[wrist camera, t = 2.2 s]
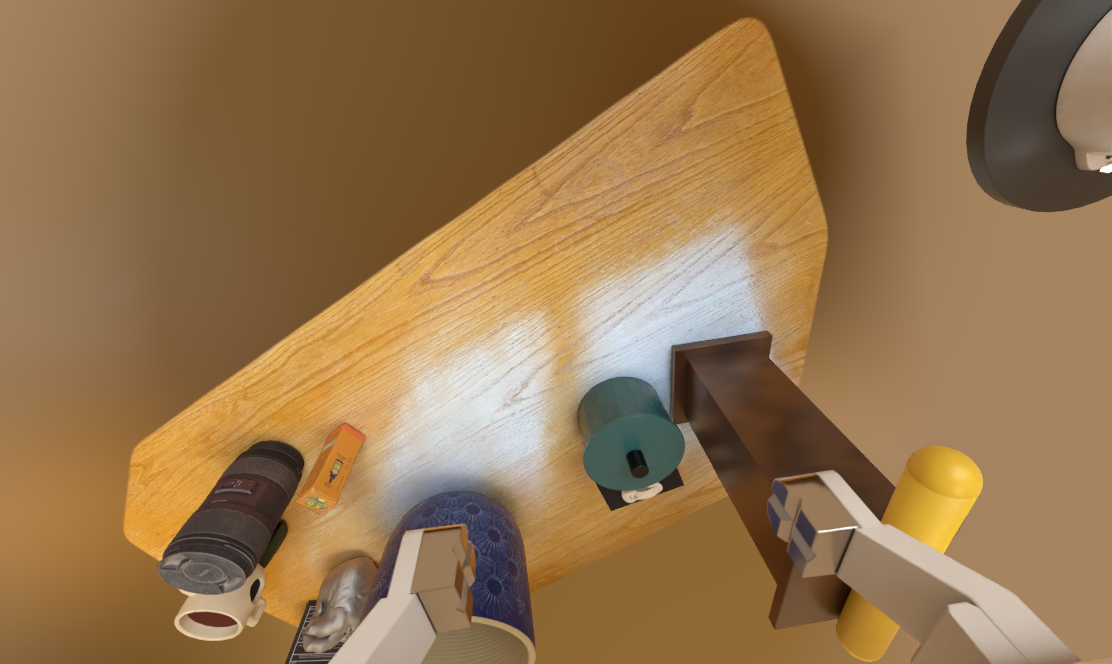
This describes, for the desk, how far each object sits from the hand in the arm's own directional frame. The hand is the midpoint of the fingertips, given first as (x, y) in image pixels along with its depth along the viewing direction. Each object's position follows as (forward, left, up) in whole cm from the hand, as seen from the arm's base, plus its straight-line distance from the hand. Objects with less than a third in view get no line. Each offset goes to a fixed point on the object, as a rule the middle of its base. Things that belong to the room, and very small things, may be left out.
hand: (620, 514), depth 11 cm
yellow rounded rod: (-20, +21, -9) cm, 30 cm away
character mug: (+45, +39, -35) cm, 69 cm away
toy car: (-9, +41, -35) cm, 55 cm away
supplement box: (+28, +25, -35) cm, 52 cm away
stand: (-20, +25, -35) cm, 47 cm away
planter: (+18, +44, -35) cm, 59 cm away
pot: (-7, +28, -35) cm, 45 cm away
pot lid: (-7, +28, -27) cm, 40 cm away
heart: (+36, +52, -35) cm, 72 cm away
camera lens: (+38, +27, -35) cm, 59 cm away
